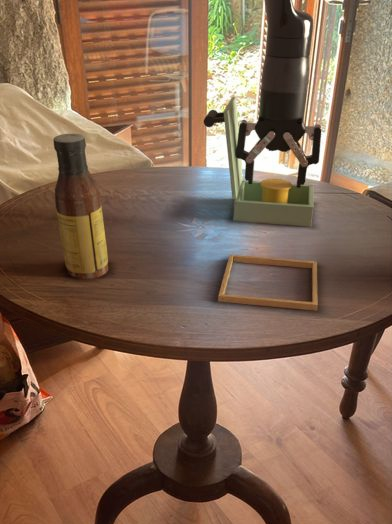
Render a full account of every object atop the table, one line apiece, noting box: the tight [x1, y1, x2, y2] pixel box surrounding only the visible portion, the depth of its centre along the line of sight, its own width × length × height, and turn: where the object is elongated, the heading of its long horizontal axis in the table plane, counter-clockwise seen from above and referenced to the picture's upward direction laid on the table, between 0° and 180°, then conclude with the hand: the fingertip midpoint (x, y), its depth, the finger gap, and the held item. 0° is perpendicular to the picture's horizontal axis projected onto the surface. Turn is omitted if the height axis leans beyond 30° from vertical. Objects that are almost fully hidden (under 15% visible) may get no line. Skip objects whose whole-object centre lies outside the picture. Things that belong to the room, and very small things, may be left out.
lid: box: [203, 96, 244, 200], centre depth 100 cm, size 14×12×5 cm
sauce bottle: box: [53, 133, 109, 280], centre depth 79 cm, size 7×6×20 cm
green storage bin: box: [232, 179, 315, 228], centre depth 104 cm, size 14×12×4 cm
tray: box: [217, 254, 318, 311], centre depth 81 cm, size 13×13×2 cm
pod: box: [260, 178, 293, 204], centre depth 103 cm, size 6×6×5 cm
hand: (274, 184), depth 101 cm, fingers open, 8 cm apart
